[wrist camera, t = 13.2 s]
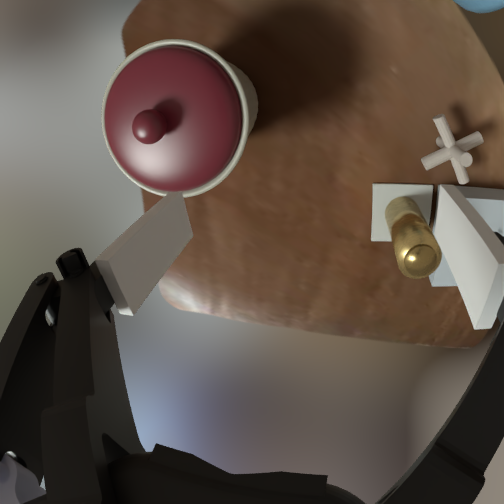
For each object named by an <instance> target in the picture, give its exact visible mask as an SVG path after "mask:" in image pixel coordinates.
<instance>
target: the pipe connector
mask: <svg viewBox="0 0 504 504" xmlns="http://www.w3.org/2000/svg"><path fill="white" fill-rule="evenodd" d="M433 120H434V122H435V124H436V126H437V129H438V131H439V133H440V135H441V136H439V137H437V139H436V144H437V145H438V146H439V147H440V148H441V149H439V150H437V151H435V152H433V153H431V154H429V155H427V156H425V157H423V158H421V161H422V163H423V165H424V167H425V169H426V170H429V169H431V168H433V167H435V166H437V165H439V164H441V163H443V162H445V161H447V160H449V159H450V160H451V162H452V165H453V168H454V170H455V173H456V176H457V179H458V182H459V184H466V183H467V182H469V177H468V174H467V171H466V168H465V167H468V166H470V165H471V164H472V156H471V155H470V154H469V153H468V152H466V151H468V150H470V149H472V148H474V147H476V146H478V145H480V144H482V143H483V138H482V136H481V134H480V132H478V131H476V132H474V133H472V134H470V135H468V136H466V137H464V138H462V139H460V140H458V141H455V139H454V136H453V134H452V132H451V129H450V127H449V125H448V122H447V120H446V118H445V116H444V114H439V115H436V116H435V117H433Z"/></svg>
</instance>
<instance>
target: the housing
mask: <svg viewBox="0 0 504 504" xmlns="http://www.w3.org/2000/svg"><path fill="white" fill-rule="evenodd" d="M455 187H456V188H457V189H458V190H459V191H460V192H461V193H462V195H463V196H464V197H465V198H466V199H467V200H468V201H469V203H470V204H471V205H472V206H473V207H474V208H475V210H476V211H477V212H478V213H479V214H480V216H481V217H482V218H483V219H484V220H485V222H486V223H487V224H488V225H489V227H490V228H491V229H492V231H493V232H498V233H499V234H501V235H502V236H503V237H504V189H493V188H480V187H466V186H455ZM439 190H440V185H438V191H437V201H436V210H435V218H434V226H433V235H434V232H435V225H436V217H437V209H438V200H439ZM434 237H435V236H434ZM439 247H440V246H439ZM440 249H441V248H440ZM441 252H442V250H441ZM429 279H430V281H431V284H432V286H458V285H457V283H456V281H455V278H454V276H453V274H452V272H451V269H450V267H449V265H448V263H447V261H446V258H445V256H444V254H443V252H442V259H441V262H440V265H439V266H438V268H437V269H436V270H435V271H434V272H433V273H432V274H430V275H429Z"/></svg>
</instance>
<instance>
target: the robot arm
mask: <svg viewBox="0 0 504 504" xmlns="http://www.w3.org/2000/svg"><path fill="white" fill-rule="evenodd" d="M453 1H454V2H456V3H457V4H459V5H460V6H461V7H463V8H464V9H466V10H468V11H472V12H475V13H488V12H493V11H496V10H499V9H502V8H504V0H453ZM434 236H435V238H436V240H437V242H438V244H439V246H440V248H441V250H442V252H443V254H444V256H445V258H446V261H447V263H448V265H449V267H450V269H451V272H452V274H453V276H454V278H455V281H456V283H457V285H458V288H459V290H460V293H461V295H462V298H463V300H464V303H465V305H466V308H467V310H468V313H469V316H470V318H471V321H472V324H473V327H474V330H475V329H487V328H491V327H492V325H493V323H494V321H495V318H496V316H498V319H499V321H500V325H499V328H498V330H497V332H496V334H495V336H494V338H493V340H492V342H491V344H490V347H489V349H488V351H487V353H486V355H485V357H484V359H483V361H482V363H481V364H480V366H479V368H478V370H477V372H476V374H475V375H474V377H473V379H472V381H471V382H470V384H469V386H468V388H467V389H466V391H465V393H464V394H463V396H462V398H461V399H460V401H459V403H458V404H457V405H456V407H455V409H454V410H453V412H452V413H451V415H450V416H449V418H448V419H447V420H446V422H445V423H444V425H443V426H442V428H441V429H440V430H439V432H438V433H437V434H436V436H435V437H434V439H433V440H432V441H431V442H430V444H429V445H428V446H427V448H426V449H425V450H424V451H423V453H422V454H421V455H420V456H419V457H418V459H417V460H416V461H415V462H414V463H413V465H412V466H411V467H410V468H409V469H408V470H407V472H406V473H405V474H404V475H403V476H402V477H401V478H400V479H399V480H398V482H396V483H395V484H394V485H393V487H391V488H390V490H388V491H387V493H385V494H384V495H383V496H382V497H381V498H380V499H379V500H378V501H377V502H376V503H375V504H472V503H473V502H474V500H475V499H476V497H477V495H478V494H479V492H480V491H481V489H482V487H483V486H484V482H485V477H484V476H483V475H484V472H485V470H486V468H487V466H488V464H489V463H490V461H491V460H492V458H493V456H494V454H495V452H496V451H497V449H498V447H499V445H500V443H501V441H502V439H503V437H504V237H503V236H502V235H501V234H499V233H498V232H493V231H492V229H491V228H490V227H489V225H488V224H487V223H486V222H485V220H484V219H483V218H482V217H481V216H480V214H479V213H478V212H477V211H476V210H475V208H474V207H473V206H472V205H471V204H470V203H469V201H468V200H467V199H466V198H465V197H464V196H463V195H462V193H461V192H460V191H459V190H458V189H457V188H456V187H455V186H454V185H446V184H440V190H439V200H438V209H437V217H436V225H435V232H434ZM192 237H193V233H192V229H191V225H190V222H189V218H188V214H187V210H186V206H185V202H184V198H183V194H182V191H178V192H169V193H168V194H167V195H166V196H165V197H163V198H162V199H161V200H160V201H159V202H158V203H156V204H155V205H154V206H153V207H152V208H151V209H149V210H148V211H147V212H146V213H145V214H144V215H143V216H141V217H140V218H139V219H138V220H137V221H136V222H135V223H134V224H132V225H131V226H130V227H129V228H128V229H127V230H126V231H125V232H124V233H123V234H121V235H120V236H119V237H118V238H117V239H116V240H115V241H114V242H113V243H112V244H111V245H110V246H109V247H108V248H107V249H105V250H104V251H103V252H102V253H101V254H100V255H99V256H98V257H97V258H96V259H95V261H94V262H93V263H92V264H91V265H90V266H89V264H88V262H87V260H86V257H85V255H84V253H83V251H82V249H81V248H74V249H71V250H69V251H67V252H65V253H63V254H62V255H61V256H60V257H59V258H58V259H57V260H56V264H57V266H58V268H59V270H60V272H61V274H62V276H63V278H64V279H63V280H60V281H57V280H56V279H55V277H54V275H53V273H52V272H48V273H44V274H41V275H39V276H38V277H37V278H36V279H35V280H34V281H33V282H32V284H31V285H30V287H29V289H28V291H27V292H26V294H25V296H24V298H23V300H22V301H21V303H20V305H19V307H18V308H17V310H16V312H15V314H14V316H13V318H12V320H11V322H10V324H9V326H8V328H7V330H6V332H5V334H4V336H3V338H2V340H1V342H0V504H365V503H364V502H363V501H362V500H361V499H359V498H358V497H356V496H355V495H353V494H351V493H350V492H348V491H346V490H344V489H342V488H339V487H337V486H334V485H330V484H327V477H328V476H327V475H312V474H300V473H290V472H282V471H281V472H270V473H256V474H230V473H228V472H226V471H224V470H222V469H219V468H218V467H216V466H214V465H212V464H210V463H208V462H206V461H204V460H202V459H200V458H198V457H196V456H195V455H193V454H190V453H186V452H183V451H179V450H176V449H173V448H169V447H166V446H163V445H159V444H156V445H155V447H154V449H153V451H152V452H146V451H145V449H144V448H143V446H142V445H141V443H140V440H139V438H138V434H137V430H136V426H135V423H134V419H133V415H132V411H131V407H130V403H129V398H128V394H127V389H126V385H125V380H124V375H123V370H122V365H121V359H120V354H119V348H118V342H117V335H116V329H115V322H114V315H113V313H112V311H111V309H110V308H111V307H112V306H113V304H114V303H115V305H116V307H117V309H118V311H119V312H120V314H125V315H132V316H134V314H135V313H136V312H137V310H138V309H139V308H140V306H141V305H142V303H143V302H144V301H145V299H146V298H147V297H148V295H149V294H150V292H151V291H152V290H153V288H154V287H155V286H156V284H157V283H158V282H159V280H160V279H161V278H162V276H163V275H164V274H165V272H166V271H167V270H168V268H169V267H170V266H171V264H172V263H173V262H174V260H175V259H176V258H177V257H178V255H179V254H180V253H181V251H182V250H183V249H184V247H185V246H186V245H187V244H188V242H189V241H190V240H191V238H192ZM45 313H46V315H47V316H48V318H49V319H50V321H51V324H50V326H49V325H48V323H47V321H46V317H45ZM5 453H6V454H5ZM43 475H44V480H45V489H46V490H44V489H43V488H42V487H40V485H41V482H42V479H43Z"/></svg>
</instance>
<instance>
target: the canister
mask: <svg viewBox="0 0 504 504" xmlns="http://www.w3.org/2000/svg"><path fill="white" fill-rule="evenodd" d="M257 112H258V100H257V94H256V91H255V88H254V86H253V84H252V82H251V81H250V80H249V78H248V76H247V75H245V74H244V73H243V71H242V70H240V69H239V68H237V67H236V66H235V65H233V64H231V63H229V62H227V61H225V60H224V59H223V58H222V57H221V56H220V55H219V54H217V53H216V52H215V51H213V50H211V49H210V48H208V47H206V46H204V45H202V44H199V43H196V42H193V41H188V40H182V39H167V40H160V41H156V42H153V43H150V44H148V45H145V46H143V47H141V48H139V49H138V50H136V51H135V52H133V53H132V54H131V55H129V56H128V57H127V58H126V59H125V60H124V61H123V62H122V63H121V64H120V65H119V67H118V68H117V69H116V71H115V72H114V74H113V76H112V77H111V79H110V81H109V83H108V86H107V88H106V91H105V95H104V98H103V104H102V129H103V134H104V138H105V142H106V145H107V147H108V150H109V152H110V154H111V156H112V158H113V160H114V161H115V163H116V164H117V166H118V167H119V168H120V170H121V171H122V172H123V173H124V174H125V175H126V176H127V177H128V178H129V179H130V180H132V181H133V182H134V183H135V184H137V185H138V186H140V187H141V188H143V189H145V190H147V191H149V192H151V193H154V194H157V195H160V196H166V195H167V194H168V193H169V192H178V191H182V194H183V198H184V197H191V196H195V195H199V194H201V193H204V192H206V191H208V190H210V189H212V188H214V187H215V186H217V185H218V184H219V183H220V182H222V181H223V180H224V179H225V178H226V177H227V176H228V175H229V174H230V173H231V172H232V170H233V169H234V168H235V166H236V165H237V163H238V161H239V160H240V158H241V156H242V153H243V151H244V148H245V145H246V142H247V138H248V135H249V134H250V132H251V130H252V128H253V126H254V123H255V120H256V119H257Z"/></svg>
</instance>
